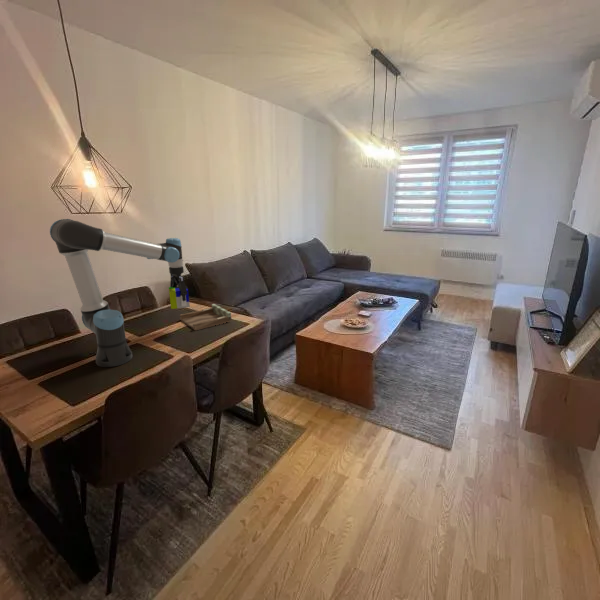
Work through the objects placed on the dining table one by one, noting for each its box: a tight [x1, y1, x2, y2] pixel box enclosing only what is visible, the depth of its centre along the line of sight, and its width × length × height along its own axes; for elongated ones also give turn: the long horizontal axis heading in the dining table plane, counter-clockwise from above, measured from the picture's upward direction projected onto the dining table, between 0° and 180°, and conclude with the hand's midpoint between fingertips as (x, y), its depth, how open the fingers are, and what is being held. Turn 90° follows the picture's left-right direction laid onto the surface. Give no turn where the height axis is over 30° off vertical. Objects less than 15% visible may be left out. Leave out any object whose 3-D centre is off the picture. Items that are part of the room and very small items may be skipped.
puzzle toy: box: [168, 285, 190, 310], centre depth 188 cm, size 10×10×10 cm
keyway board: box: [179, 303, 232, 331], centre depth 206 cm, size 22×24×6 cm
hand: (179, 303), depth 189 cm, fingers closed on puzzle toy, 12 cm apart
